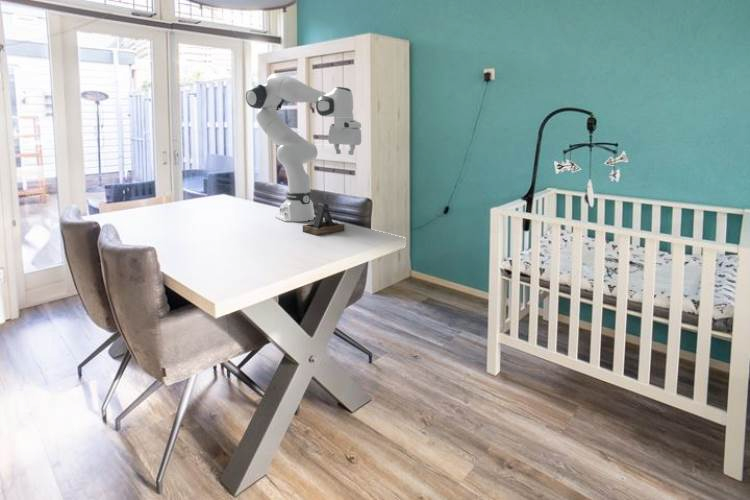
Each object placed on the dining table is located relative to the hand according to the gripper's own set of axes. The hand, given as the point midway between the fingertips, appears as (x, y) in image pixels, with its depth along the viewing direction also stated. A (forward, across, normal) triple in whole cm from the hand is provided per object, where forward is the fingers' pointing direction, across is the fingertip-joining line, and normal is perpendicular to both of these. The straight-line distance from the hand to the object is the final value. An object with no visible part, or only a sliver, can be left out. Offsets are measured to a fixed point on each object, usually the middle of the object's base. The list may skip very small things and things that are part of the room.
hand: (344, 154), depth 244 cm
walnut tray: (+34, +2, -15) cm, 37 cm away
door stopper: (+33, +2, -15) cm, 37 cm away
